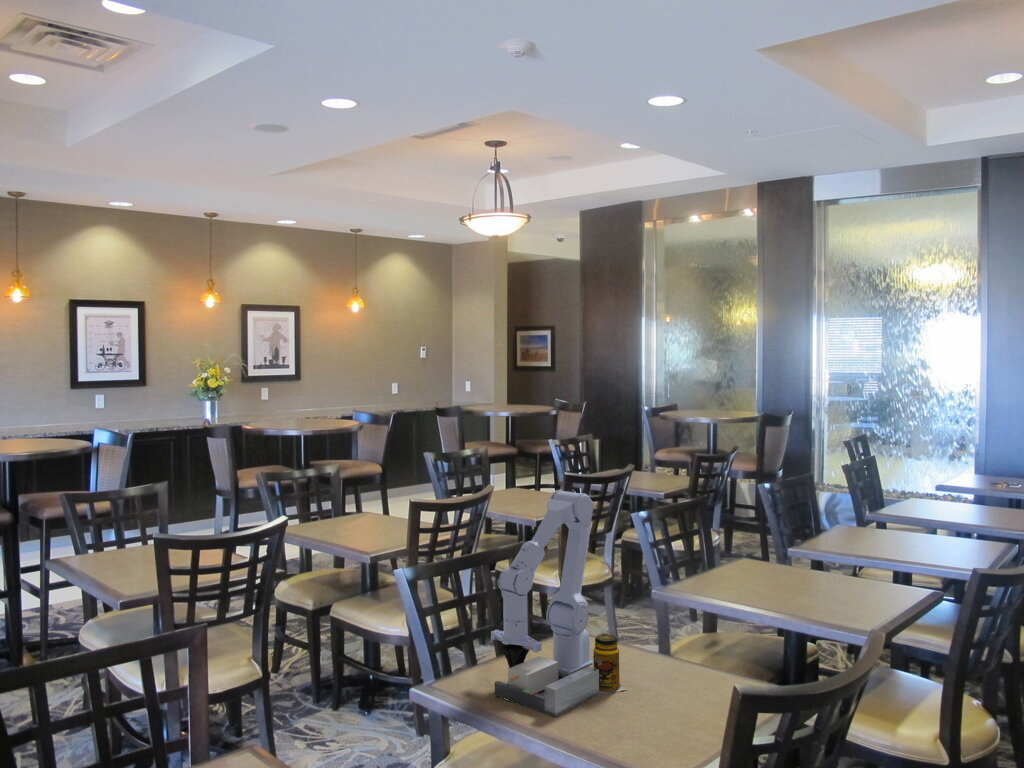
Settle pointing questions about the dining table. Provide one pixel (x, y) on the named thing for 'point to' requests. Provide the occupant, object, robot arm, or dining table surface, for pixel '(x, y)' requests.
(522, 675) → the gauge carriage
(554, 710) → the gauge frame
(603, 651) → the condiment
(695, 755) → the dining table surface
